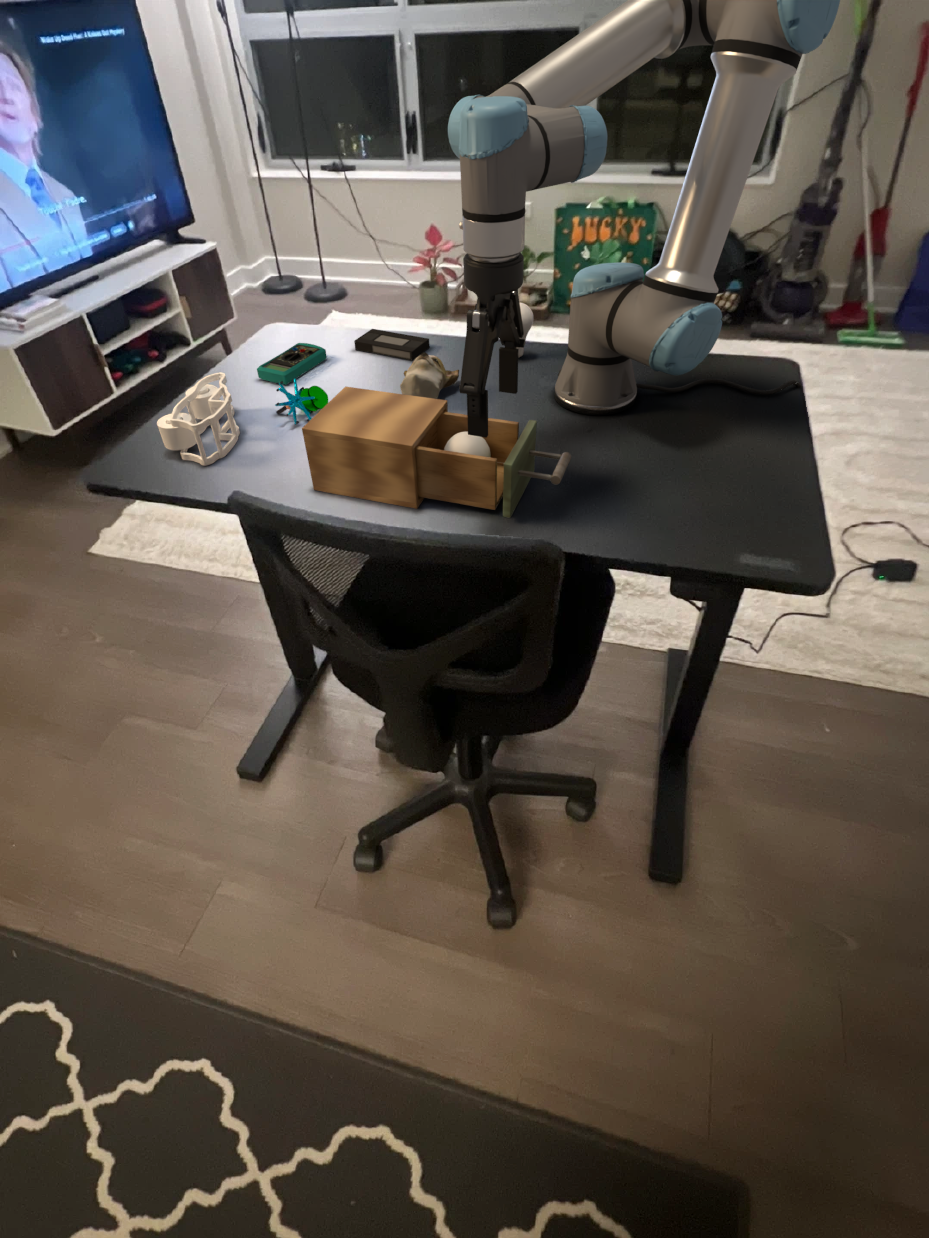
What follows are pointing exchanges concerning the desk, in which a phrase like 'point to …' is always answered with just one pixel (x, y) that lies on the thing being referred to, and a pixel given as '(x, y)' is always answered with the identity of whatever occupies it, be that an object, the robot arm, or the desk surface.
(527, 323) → the lightbulb
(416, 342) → the vhs tape
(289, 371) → the digital multimeter
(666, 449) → the desk surface
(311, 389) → the stick construction toy
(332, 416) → the cabinet
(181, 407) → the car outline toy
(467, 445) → the cream egg
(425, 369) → the ceramic sculpture
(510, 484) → the drawer
